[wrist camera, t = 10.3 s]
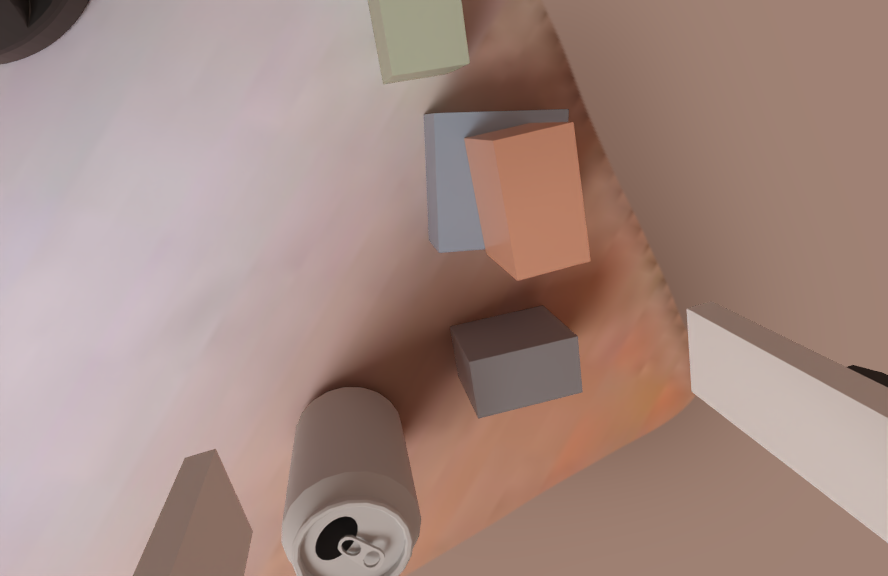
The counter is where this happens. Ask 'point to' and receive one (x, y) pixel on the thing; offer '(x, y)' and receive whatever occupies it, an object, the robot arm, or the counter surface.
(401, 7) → the sage brick
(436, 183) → the slate blue brick
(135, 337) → the counter surface
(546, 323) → the charcoal brick
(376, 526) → the can
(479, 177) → the terracotta brick
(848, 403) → the robot arm
